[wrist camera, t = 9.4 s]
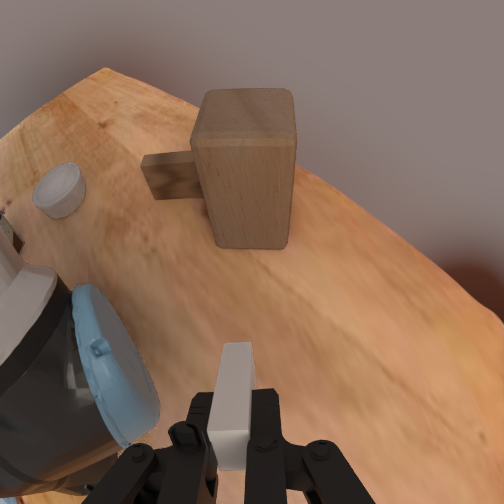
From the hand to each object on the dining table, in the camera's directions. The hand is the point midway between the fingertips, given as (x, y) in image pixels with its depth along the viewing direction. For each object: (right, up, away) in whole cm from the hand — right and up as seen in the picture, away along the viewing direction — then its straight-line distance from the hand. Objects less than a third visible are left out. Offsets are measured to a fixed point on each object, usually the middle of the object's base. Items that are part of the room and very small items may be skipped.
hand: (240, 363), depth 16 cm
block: (+1, +10, +29) cm, 31 cm away
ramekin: (-35, +16, +34) cm, 52 cm away
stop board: (-4, +16, +32) cm, 36 cm away
